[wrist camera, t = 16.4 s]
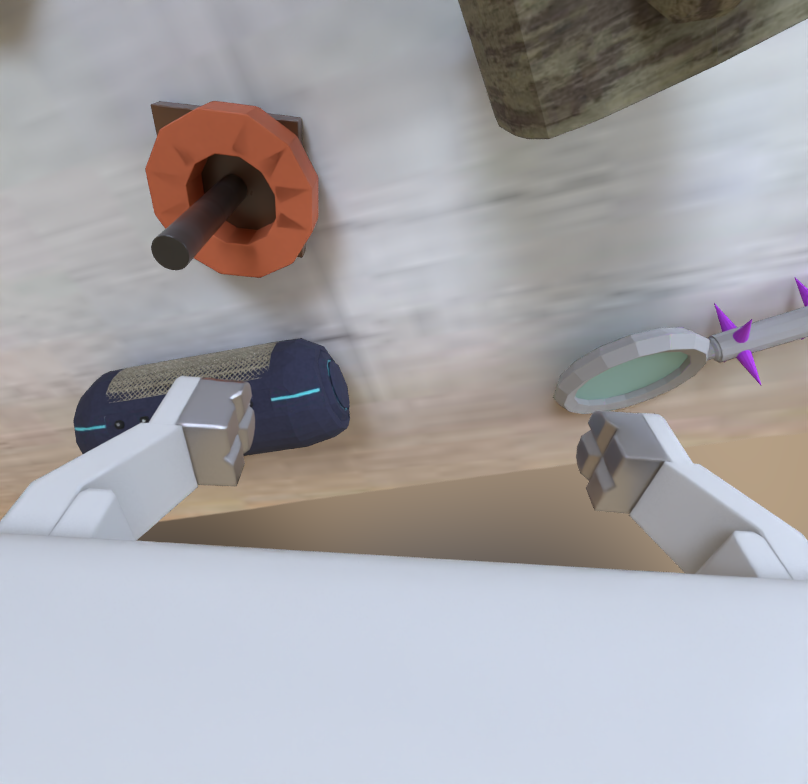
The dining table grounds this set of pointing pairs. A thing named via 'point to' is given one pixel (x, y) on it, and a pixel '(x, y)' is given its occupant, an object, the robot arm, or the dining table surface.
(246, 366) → the portable speaker
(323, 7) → the dining table surface
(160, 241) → the stand
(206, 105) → the ring
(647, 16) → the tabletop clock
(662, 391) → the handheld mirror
